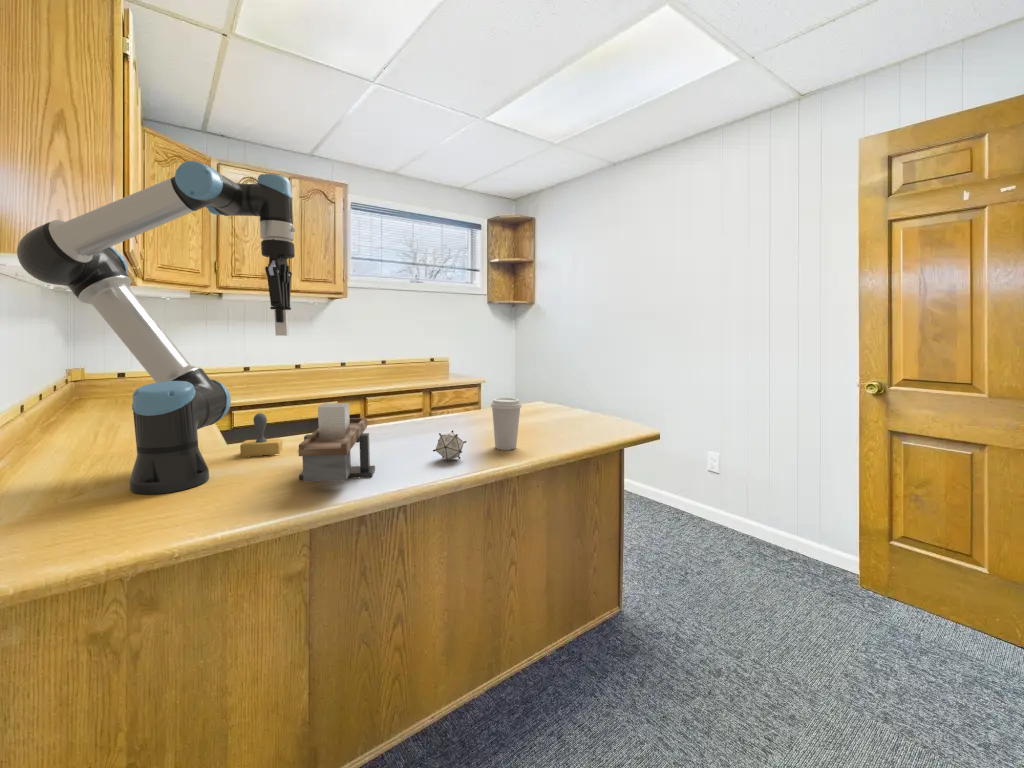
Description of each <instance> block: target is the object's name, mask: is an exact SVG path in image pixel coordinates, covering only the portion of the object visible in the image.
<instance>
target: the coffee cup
mask: <svg viewBox="0 0 1024 768" xmlns="http://www.w3.org/2000/svg"><path fill="white" fill-rule="evenodd" d="M522 407H523V406H522V402H520V399H519V398H513V397H496V398H494V399H492V402H491V403H490V408H492V409H491V410H492V422H493V433H494V447H495V449H496V448H497V449H496V450H499V449H501V450H500V451H512V450H511V449H513V450H516V449H517V444H518V443H517V442H518V433H519V424H520V423H519V422H520V421H519V420H520V413H521V408H522ZM515 448H516V449H515Z"/></svg>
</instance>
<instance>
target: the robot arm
mask: <svg viewBox="0 0 1024 768" xmlns="http://www.w3.org/2000/svg"><path fill="white" fill-rule="evenodd" d="M293 199H294V197H293V192H292V184H291V181H290V180H289V179H288V177H285V176H283V175H279V174H274V173H264V174H263V173H262V174H259V175H258V177H257V180H256V183H242V182H241V183H238V182H235V181H233V180H231V179H230V178H228V177H226V176H225V175H223V174H221V173H220V172H218V171H217V170H216V169H215V168H214V167H211V166H209V165H207V164H205V163H202V162H200V161H198V160H197V161H196V160H187V161H184V162H182V163H181V164H179V166H178V168H177V169H176V170H175V173H174V176H172V177H170V178H167V179H165V180H163V181H161V182H158V183H156V184H154V185H150V186H148V187H146V188H143V189H141V190H139V191H137V192H134V193H132V194H128V195H126V196H124V197H122V198H119V199H117V200H114V201H111V202H109V203H108V204H104V205H102V206H100V207H98V208H96V209H93V210H91V211H88V212H85V213H84V214H81V215H79V216H76V217H73V218H71V219H68V220H67V221H63V220H61V219H60V220H59V219H54V220H51V221H49V222H47V223H44V224H42V225H39V226H37V227H36V228H34V229H32V230H30V231H29V232H27V233H26V234H24V236H23V237H22V238H20V241H19V242H18V245H17V249H16V256H17V259H18V262H19V264H20V265H21V267H22V269H24V270H25V271H26V273H28V275H30V276H31V277H33V278H34V279H37V280H38V281H40V282H43V283H46V284H50V285H57V286H66V287H68V288H69V289H70V291H71V292H72V293H73V295H74V296H75V297H76V298H77V299H78V301H80V302H81V303H82V304H83V303H84V304H87V305H88V304H89V305H92V306H93V307H94V308H95V310H96V311H97V313H98V314H99V315H100V316H101V317H102V318H103V319H104V321H105V322H106V323H107V325H108V326H109V327H110V328H111V329H112V331H113V332H114V333H115V334H116V335H117V337H118V338H119V339H120V341H122V343H123V344H124V345H125V347H126V348H127V349H128V350H129V352H130V353H131V354H132V355H133V357H134V358H135V359H136V360H137V361H138V363H139V364H140V365H141V366H142V367H143V368H144V370H145V371H146V372H147V374H148V375H149V376H150V377H151V378H152V380H153V381H154V382H155V383H148V384H145V385H142V386H139V387H138V388H137V389H135V390H134V391H133V394H132V404H131V410H132V415H133V424H134V434H135V446H136V458H135V461H134V464H133V468H132V471H131V474H130V478H129V491H130V492H132V493H134V494H140V495H154V494H155V495H159V494H167V493H173V492H179V491H183V490H188V489H192V488H195V487H197V486H200V485H203V484H204V483H206V482H207V481H209V479H210V471H209V467H208V465H207V463H206V460H205V458H204V457H203V454H202V452H201V451H200V448H199V438H198V437H199V436H198V430H200V429H202V428H205V427H209V426H213V425H215V424H216V423H217V422H218V421H220V420H222V419H223V418H224V417H225V416H226V415H227V414H228V413H229V411H230V407H231V403H232V401H231V399H232V398H231V394H230V392H229V389H228V387H227V386H226V385H224V383H222V382H220V381H218V380H216V379H212V378H210V377H209V376H208V375H207V373H206V372H205V371H204V369H203V368H201V367H199V366H194V365H191V364H190V363H189V361H188V360H187V358H186V357H185V356H184V355H183V353H182V352H181V351H180V350H179V349H178V347H177V346H176V345H175V343H174V342H173V341H172V340H171V338H170V337H169V336H168V335H167V333H166V332H165V331H164V330H163V329H162V327H161V326H160V325H159V323H158V322H157V321H156V320H155V319H154V317H153V316H152V315H151V314H150V312H149V311H148V310H147V309H146V307H145V306H144V305H143V303H142V302H141V301H140V300H139V298H138V297H137V296H136V295H135V293H134V292H133V290H131V284H132V279H131V278H130V276H129V275H128V274H129V273H128V269H129V267H128V263H127V261H126V260H125V258H124V256H123V255H122V254H121V253H120V252H119V251H118V250H117V249H116V248H114V247H113V246H115V245H118V244H120V243H124V242H125V241H127V240H130V239H132V238H134V237H137V236H139V235H142V234H144V233H146V232H149V231H151V230H154V229H156V228H158V227H160V226H162V225H163V226H164V225H165V224H167V223H170V222H172V221H175V220H177V219H179V218H181V217H184V216H186V215H189V214H191V213H193V212H196V211H199V210H201V209H203V208H206V209H207V210H208V212H210V213H211V214H212V215H218V216H224V217H230V216H237V217H240V216H241V217H259V233H260V239H262V240H261V241H260V242H261V243H260V249H261V252H260V253H261V255H262V257H265V258H269V260H268V263H267V266H265V268H264V270H265V274H266V277H267V285H268V292H269V293H268V294H269V301H270V308H269V309H270V310H274V326H275V327H274V330H275V331H274V332H275V336H277V337H280V336H281V337H282V336H284V337H285V336H289V316H288V315H289V314H288V311H291V310H292V307H291V284H292V275H293V273H292V271H290V266H289V265H288V264H289V263H288V259H294V257H295V244H294V238H295V237H294V235H295V234H294V233H295V232H296V231H297V230H296V228H295V227H294V218H293V217H294V215H293V214H294V213H293V212H294V211H293Z"/></svg>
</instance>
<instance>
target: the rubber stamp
mask: <svg viewBox="0 0 1024 768" xmlns="http://www.w3.org/2000/svg"><path fill="white" fill-rule="evenodd" d="M267 424H268V418H267V416H266V414H264V413H262V412H259V413H256V414H255V415H254V416H253V425H254V427H255V429H256V431H257V434H258V438H257V439H246V440H244V441H243V442H242V443H241V444H240V445H239V447H240V448H239V449H240V451H239V452H240V458H249V457H248V456H255V457H263V456H262V455H272V456H276V455H275V454H280V452H281V451H282V450H284V449H283V439H282V438H267V439H266V438H265V436H264V433H265V430H266V427H267ZM282 452H283V451H282ZM282 452H281V453H282ZM280 455H281V454H280Z"/></svg>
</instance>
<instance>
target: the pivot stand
mask: <svg viewBox="0 0 1024 768" xmlns="http://www.w3.org/2000/svg"><path fill="white" fill-rule="evenodd" d="M311 434H312V433H311ZM311 434H306V435H304V436H303V441H304V440H305V439H306V438H308V437H309V436H310V435H311ZM370 453H371V452H370V432H368V433H367V432H366V433H365V432H363V433H361V434H360V435H359V465H353V466H352V465H351V473H350V475H349V476H348V478H347V479H360V478H359V477H369V478H373V476H374V474H375V472H374V471H376V466H375V465H371V461H370V460H371V458H370V455H371V454H370ZM373 473H374V474H373ZM299 479H303V470H302V471H301V473H300V474H299V475H298V480H299Z"/></svg>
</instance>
